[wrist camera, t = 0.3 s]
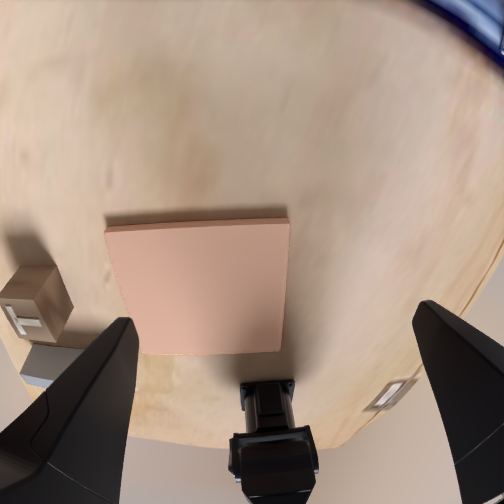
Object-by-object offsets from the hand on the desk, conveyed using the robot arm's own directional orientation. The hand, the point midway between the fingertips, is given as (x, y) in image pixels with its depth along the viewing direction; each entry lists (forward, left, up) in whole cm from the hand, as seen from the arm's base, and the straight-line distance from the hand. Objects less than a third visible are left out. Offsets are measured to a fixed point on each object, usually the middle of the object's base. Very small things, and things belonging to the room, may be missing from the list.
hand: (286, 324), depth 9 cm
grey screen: (-19, +20, -14) cm, 32 cm away
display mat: (-10, +4, -14) cm, 18 cm away
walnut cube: (-9, +20, -14) cm, 27 cm away
